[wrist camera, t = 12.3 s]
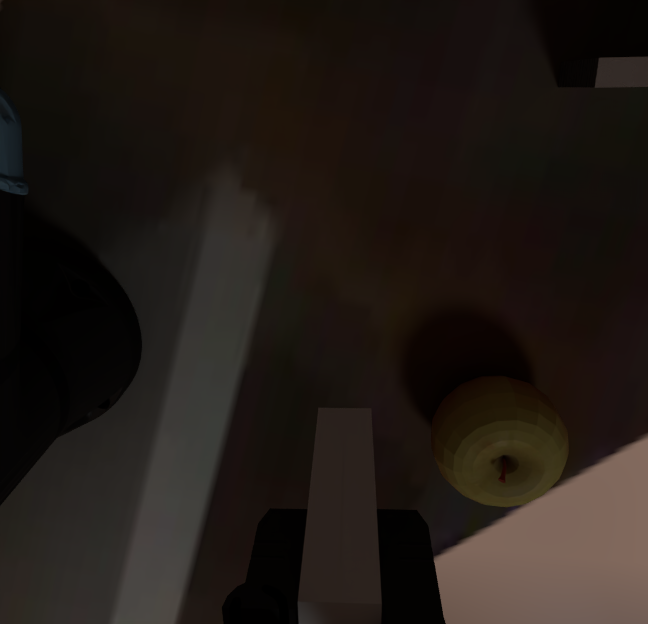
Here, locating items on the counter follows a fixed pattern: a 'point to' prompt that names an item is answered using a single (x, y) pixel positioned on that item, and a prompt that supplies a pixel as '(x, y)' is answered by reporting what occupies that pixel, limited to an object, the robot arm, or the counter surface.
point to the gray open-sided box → (605, 72)
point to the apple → (499, 441)
